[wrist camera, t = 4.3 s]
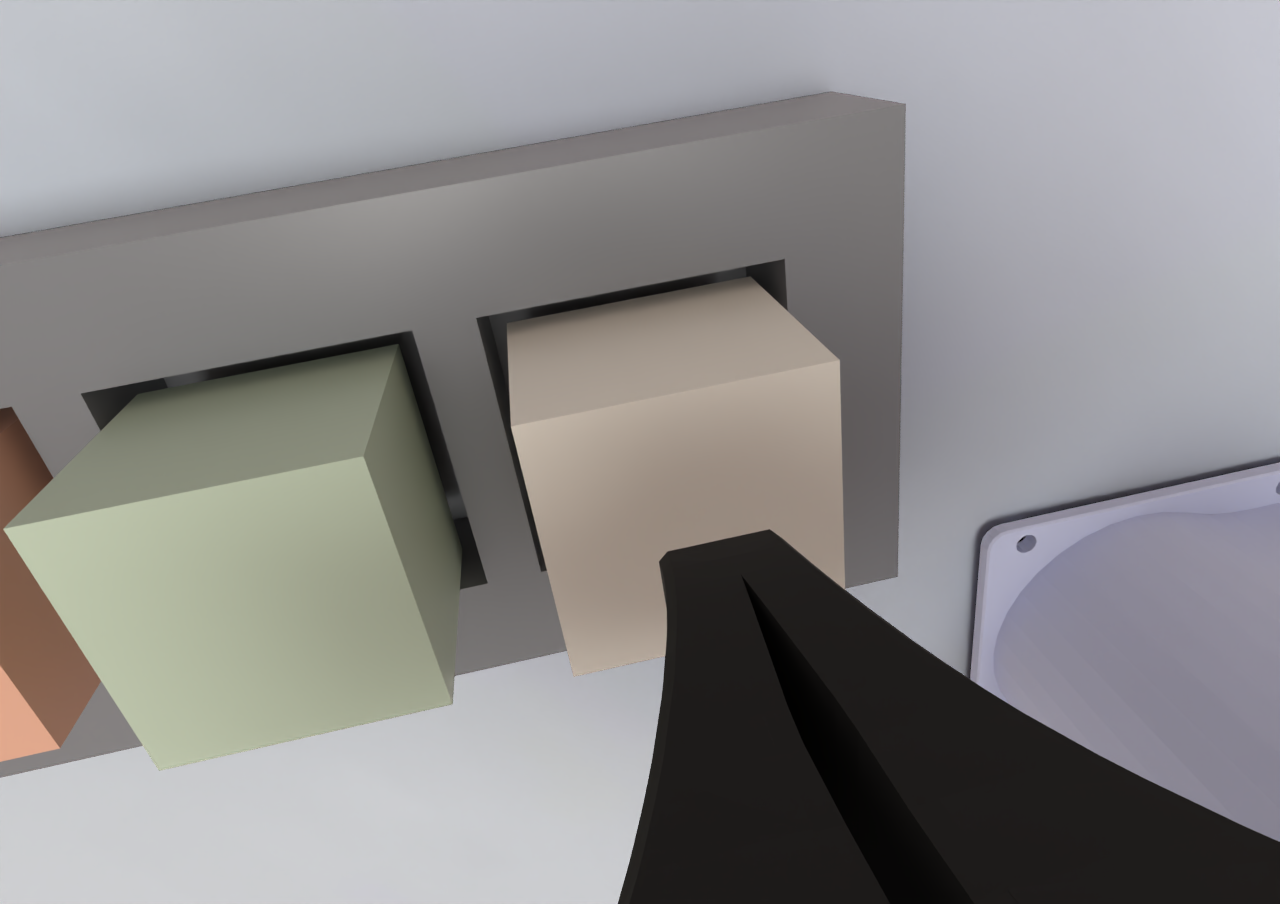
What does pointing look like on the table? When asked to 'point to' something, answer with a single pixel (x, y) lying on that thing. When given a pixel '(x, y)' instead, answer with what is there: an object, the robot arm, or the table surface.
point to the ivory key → (669, 449)
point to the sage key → (256, 557)
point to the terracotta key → (32, 623)
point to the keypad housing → (480, 311)
